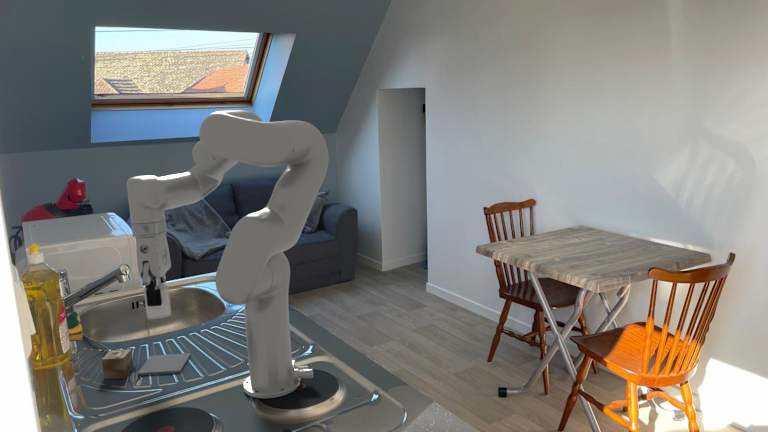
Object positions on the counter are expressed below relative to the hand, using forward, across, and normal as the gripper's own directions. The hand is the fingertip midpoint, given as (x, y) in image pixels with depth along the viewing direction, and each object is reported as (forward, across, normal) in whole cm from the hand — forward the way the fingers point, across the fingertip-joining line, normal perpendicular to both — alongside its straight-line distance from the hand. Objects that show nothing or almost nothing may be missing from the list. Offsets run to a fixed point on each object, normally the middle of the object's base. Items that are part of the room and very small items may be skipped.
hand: (157, 301), depth 141 cm
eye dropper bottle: (+4, 0, 0) cm, 4 cm away
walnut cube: (+17, -3, +10) cm, 20 cm away
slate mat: (+16, 0, 0) cm, 16 cm away
